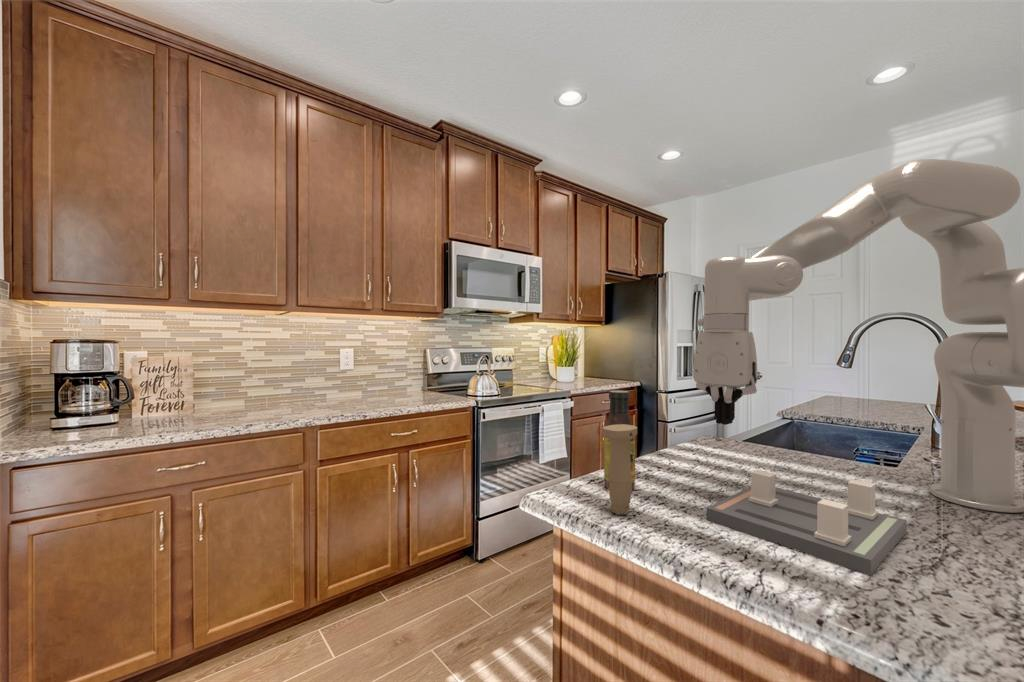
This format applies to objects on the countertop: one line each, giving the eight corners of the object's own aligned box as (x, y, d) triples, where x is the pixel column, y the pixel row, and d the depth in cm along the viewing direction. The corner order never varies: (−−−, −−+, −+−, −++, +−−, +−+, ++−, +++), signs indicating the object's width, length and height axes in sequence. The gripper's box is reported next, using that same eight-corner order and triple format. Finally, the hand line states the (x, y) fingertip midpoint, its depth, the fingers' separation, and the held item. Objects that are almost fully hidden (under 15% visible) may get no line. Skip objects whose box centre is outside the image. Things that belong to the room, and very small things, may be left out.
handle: (642, 512, 77) (642, 427, 76) (618, 521, 73) (618, 432, 73) (621, 503, 80) (621, 423, 80) (597, 512, 77) (597, 427, 76)
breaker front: (821, 531, 64) (821, 497, 64) (851, 540, 61) (851, 505, 61) (814, 537, 62) (814, 502, 62) (844, 546, 59) (844, 510, 59)
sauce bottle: (636, 494, 85) (636, 393, 85) (604, 492, 86) (604, 392, 86) (634, 483, 92) (634, 389, 91) (603, 481, 93) (603, 389, 93)
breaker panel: (758, 493, 86) (758, 482, 86) (906, 532, 68) (906, 519, 68) (706, 519, 73) (706, 507, 73) (870, 575, 56) (871, 560, 56)
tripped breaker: (756, 496, 78) (756, 469, 78) (778, 502, 75) (778, 474, 75) (748, 500, 76) (748, 472, 76) (770, 507, 73) (770, 477, 73)
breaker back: (850, 508, 73) (850, 478, 73) (878, 515, 70) (878, 484, 70) (844, 512, 71) (845, 482, 71) (872, 520, 68) (873, 488, 68)
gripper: (677, 324, 84) (676, 419, 84) (760, 323, 72) (758, 433, 72) (698, 325, 89) (696, 415, 89) (778, 324, 77) (776, 427, 77)
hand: (724, 423), depth 81 cm, fingers closed
